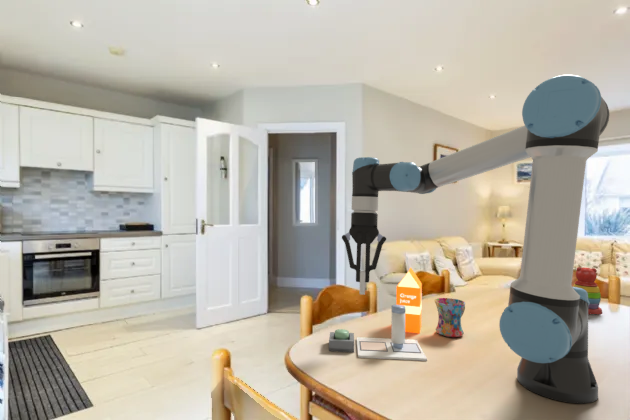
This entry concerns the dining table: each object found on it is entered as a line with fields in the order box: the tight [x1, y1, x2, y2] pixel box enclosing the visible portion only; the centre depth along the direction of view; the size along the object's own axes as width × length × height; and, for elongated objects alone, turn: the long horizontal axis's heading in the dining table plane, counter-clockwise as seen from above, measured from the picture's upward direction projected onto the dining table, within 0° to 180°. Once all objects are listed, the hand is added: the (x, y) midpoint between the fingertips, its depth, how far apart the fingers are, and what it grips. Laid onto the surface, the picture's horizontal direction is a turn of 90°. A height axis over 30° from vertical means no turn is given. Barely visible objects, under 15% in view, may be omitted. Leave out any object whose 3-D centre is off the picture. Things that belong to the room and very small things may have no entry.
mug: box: [434, 297, 466, 338], centre depth 116 cm, size 12×9×11 cm
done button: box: [334, 328, 350, 340], centre depth 103 cm, size 4×4×2 cm
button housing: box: [328, 331, 355, 353], centre depth 103 cm, size 7×7×3 cm
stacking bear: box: [572, 266, 603, 315], centre depth 144 cm, size 11×10×18 cm
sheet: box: [356, 336, 428, 362], centre depth 102 cm, size 14×18×1 cm
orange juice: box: [395, 267, 423, 334], centre depth 121 cm, size 8×9×20 cm
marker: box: [390, 304, 406, 349], centre depth 102 cm, size 4×4×12 cm
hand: (362, 293), depth 103 cm, fingers closed
